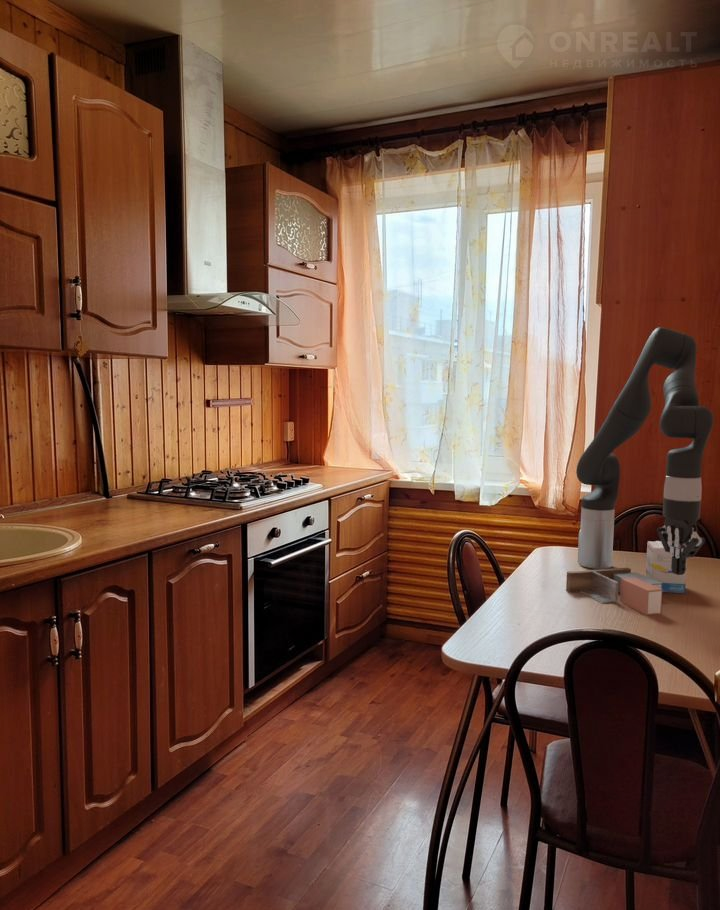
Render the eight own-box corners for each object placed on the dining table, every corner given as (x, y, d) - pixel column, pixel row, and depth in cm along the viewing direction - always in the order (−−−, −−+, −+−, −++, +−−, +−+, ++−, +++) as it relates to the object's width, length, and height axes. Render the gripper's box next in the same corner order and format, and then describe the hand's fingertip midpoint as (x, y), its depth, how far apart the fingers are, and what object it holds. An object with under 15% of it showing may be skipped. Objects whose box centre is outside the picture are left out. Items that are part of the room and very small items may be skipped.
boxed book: (619, 602, 173) (621, 578, 172) (633, 601, 174) (635, 577, 173) (646, 615, 163) (647, 590, 162) (661, 614, 164) (662, 589, 163)
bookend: (579, 591, 181) (580, 572, 180) (594, 590, 182) (594, 571, 181) (602, 603, 171) (603, 583, 170) (617, 602, 172) (618, 582, 171)
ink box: (686, 593, 180) (688, 549, 178) (651, 591, 181) (653, 547, 180) (677, 584, 188) (680, 541, 187) (644, 582, 190) (646, 539, 188)
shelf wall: (566, 590, 181) (566, 571, 181) (626, 585, 186) (627, 567, 185) (569, 592, 180) (570, 573, 179) (629, 587, 184) (630, 569, 184)
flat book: (612, 588, 183) (613, 574, 183) (635, 587, 185) (636, 572, 184) (637, 600, 173) (637, 584, 173) (661, 598, 175) (662, 583, 175)
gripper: (719, 501, 148) (714, 580, 150) (675, 491, 161) (671, 565, 163) (689, 502, 146) (684, 583, 148) (647, 492, 159) (644, 567, 161)
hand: (677, 573), depth 155 cm, fingers closed
